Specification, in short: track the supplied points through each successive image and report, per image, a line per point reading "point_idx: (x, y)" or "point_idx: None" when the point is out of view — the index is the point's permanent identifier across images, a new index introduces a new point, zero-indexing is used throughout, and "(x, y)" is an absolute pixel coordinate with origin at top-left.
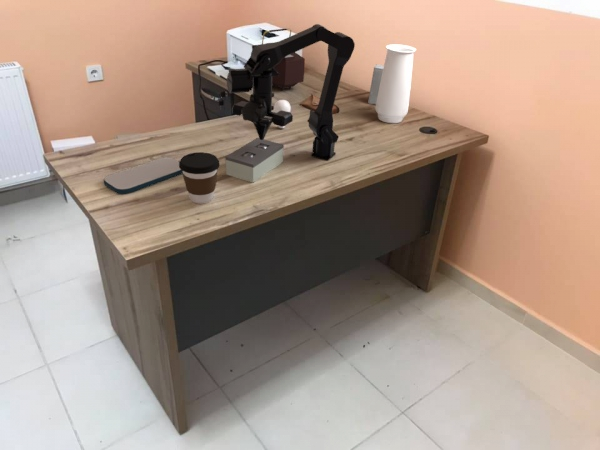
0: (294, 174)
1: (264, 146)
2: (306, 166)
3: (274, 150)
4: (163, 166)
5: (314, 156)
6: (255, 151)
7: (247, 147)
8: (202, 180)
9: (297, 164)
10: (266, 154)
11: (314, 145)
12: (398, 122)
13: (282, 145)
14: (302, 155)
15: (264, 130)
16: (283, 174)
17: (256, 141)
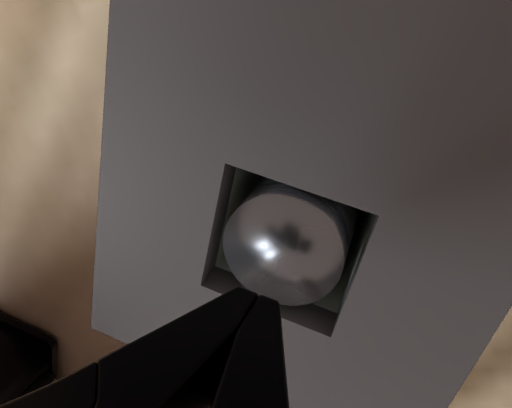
0: (24, 42)
1: (254, 255)
2: (19, 198)
3: (103, 165)
4: None
5: (32, 330)
6: (317, 54)
7: (486, 165)
8: None
9: (77, 214)
10: (135, 3)
11: (2, 403)
12: None
13: (92, 309)
14: (105, 344)
15: (69, 390)
16: (89, 8)
17: (394, 374)
